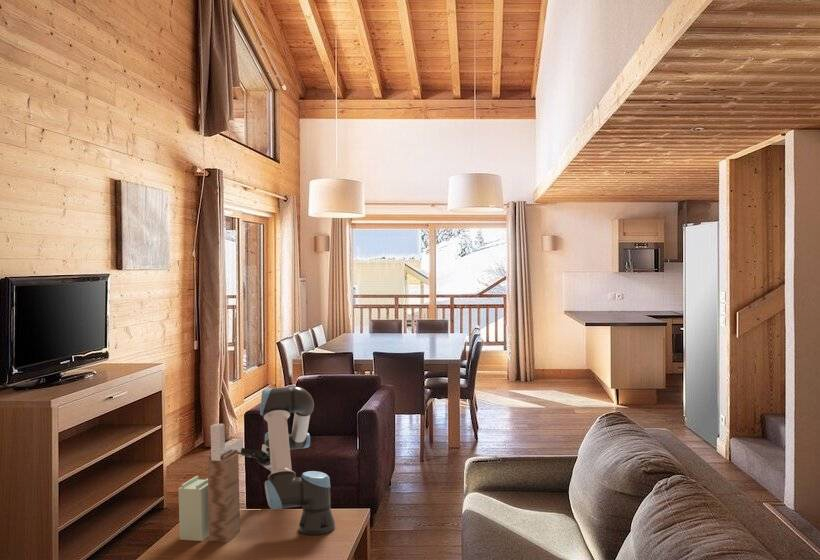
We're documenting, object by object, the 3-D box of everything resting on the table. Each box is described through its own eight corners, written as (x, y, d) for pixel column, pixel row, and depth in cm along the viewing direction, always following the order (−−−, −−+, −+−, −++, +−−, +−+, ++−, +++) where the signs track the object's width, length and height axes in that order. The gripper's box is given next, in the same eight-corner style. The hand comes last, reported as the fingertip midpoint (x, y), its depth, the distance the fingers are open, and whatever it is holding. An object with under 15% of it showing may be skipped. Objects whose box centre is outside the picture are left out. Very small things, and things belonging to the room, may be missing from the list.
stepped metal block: (234, 447, 281) (233, 415, 281) (243, 447, 281) (242, 415, 281) (211, 460, 262) (210, 425, 262) (220, 460, 261) (219, 426, 261)
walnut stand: (240, 531, 272) (238, 449, 272) (227, 542, 261) (225, 456, 261) (222, 530, 274) (220, 448, 274) (209, 540, 263) (207, 456, 263)
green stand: (216, 529, 275) (215, 476, 275) (202, 541, 263) (200, 485, 263) (195, 528, 277) (193, 475, 277) (179, 539, 265) (178, 484, 265)
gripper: (289, 467, 304) (273, 456, 286) (240, 465, 310) (221, 453, 291) (292, 451, 308) (276, 439, 290) (244, 449, 313) (225, 437, 295)
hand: (248, 446), depth 291 cm, fingers open, 13 cm apart
